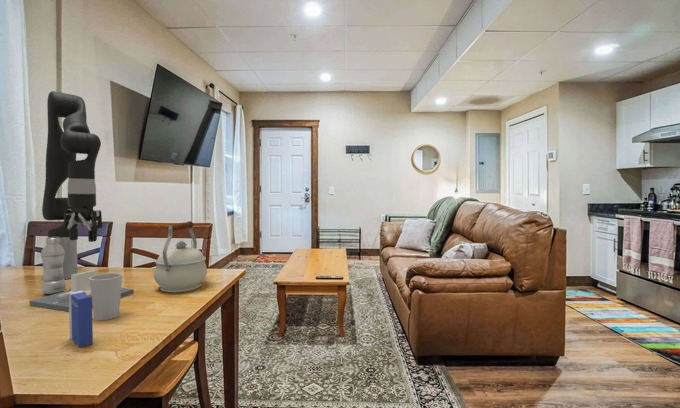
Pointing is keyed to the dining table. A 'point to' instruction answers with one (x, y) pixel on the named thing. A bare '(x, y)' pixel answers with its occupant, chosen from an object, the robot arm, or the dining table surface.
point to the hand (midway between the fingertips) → (83, 240)
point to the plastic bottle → (53, 266)
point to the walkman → (80, 318)
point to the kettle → (180, 264)
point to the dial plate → (64, 300)
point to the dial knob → (81, 282)
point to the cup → (105, 295)
